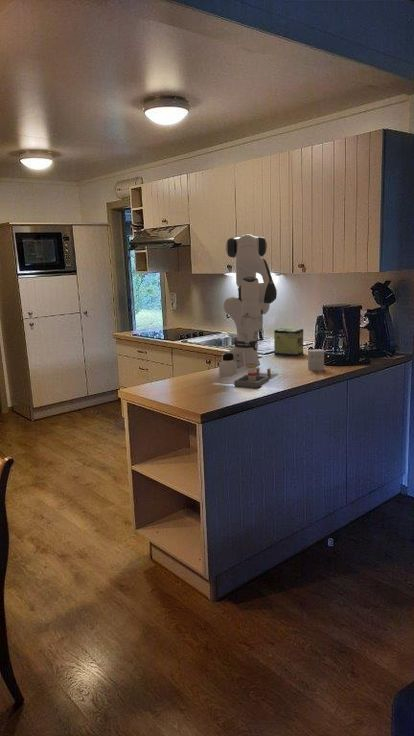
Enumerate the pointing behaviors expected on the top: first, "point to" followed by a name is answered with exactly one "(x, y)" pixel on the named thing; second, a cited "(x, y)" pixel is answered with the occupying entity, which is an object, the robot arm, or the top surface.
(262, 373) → the clip holder
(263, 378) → the tray
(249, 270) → the robot arm
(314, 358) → the small box
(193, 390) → the top surface
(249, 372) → the fuse
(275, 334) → the protein box
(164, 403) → the top surface
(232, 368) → the medicine bottle
